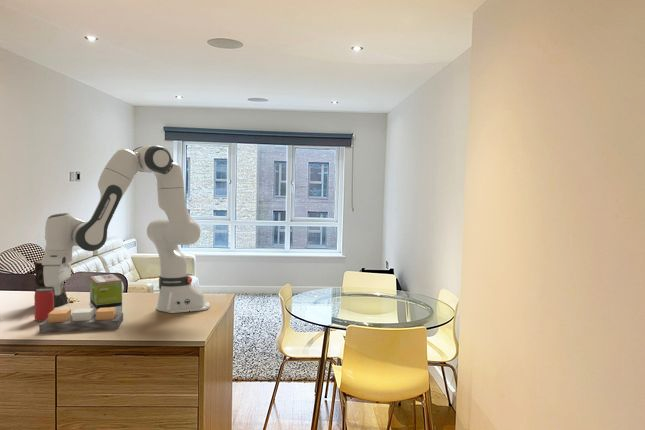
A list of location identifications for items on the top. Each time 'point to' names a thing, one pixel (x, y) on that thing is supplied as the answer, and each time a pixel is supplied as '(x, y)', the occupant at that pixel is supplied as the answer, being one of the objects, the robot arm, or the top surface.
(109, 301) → the tea box
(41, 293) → the beer can
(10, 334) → the top surface
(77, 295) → the top surface
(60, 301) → the owl
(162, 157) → the robot arm
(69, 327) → the dark grey tray
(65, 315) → the key
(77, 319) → the key middle
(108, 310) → the key
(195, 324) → the top surface
